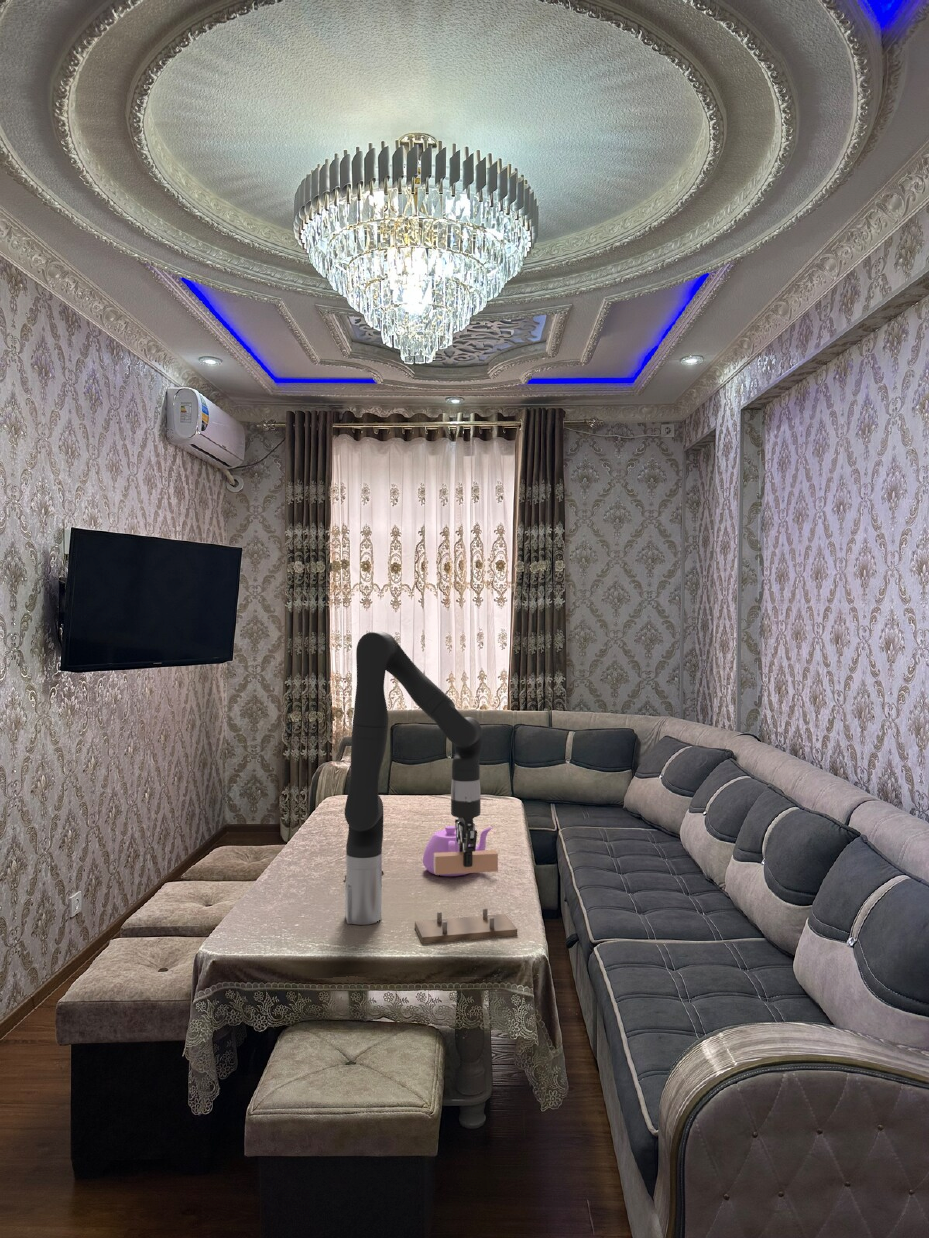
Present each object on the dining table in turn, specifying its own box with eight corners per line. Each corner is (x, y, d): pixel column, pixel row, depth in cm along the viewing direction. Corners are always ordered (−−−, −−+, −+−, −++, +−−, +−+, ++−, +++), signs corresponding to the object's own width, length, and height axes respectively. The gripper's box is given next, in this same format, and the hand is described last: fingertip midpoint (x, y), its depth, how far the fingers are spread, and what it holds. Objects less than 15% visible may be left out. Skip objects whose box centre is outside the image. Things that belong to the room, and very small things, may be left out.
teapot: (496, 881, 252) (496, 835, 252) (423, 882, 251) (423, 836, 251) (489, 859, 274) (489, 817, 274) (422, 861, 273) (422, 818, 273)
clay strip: (435, 874, 212) (435, 856, 212) (433, 870, 216) (433, 852, 215) (497, 871, 215) (497, 853, 215) (495, 867, 218) (495, 849, 218)
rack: (422, 943, 205) (422, 926, 205) (414, 926, 215) (414, 911, 215) (517, 935, 210) (517, 919, 210) (505, 919, 221) (505, 904, 221)
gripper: (445, 791, 221) (445, 857, 221) (458, 803, 207) (458, 873, 207) (472, 790, 223) (472, 855, 223) (487, 801, 209) (487, 871, 209)
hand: (465, 863), depth 215 cm, fingers closed on clay strip, 3 cm apart
